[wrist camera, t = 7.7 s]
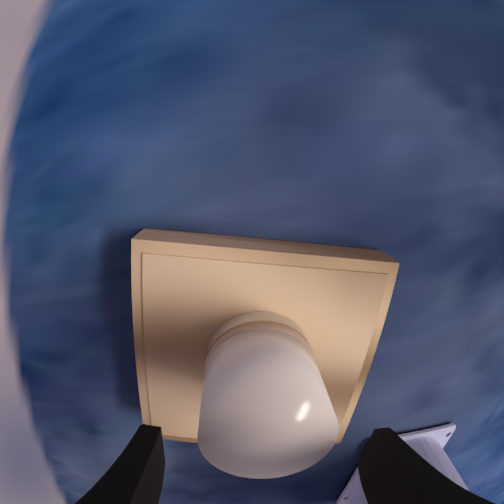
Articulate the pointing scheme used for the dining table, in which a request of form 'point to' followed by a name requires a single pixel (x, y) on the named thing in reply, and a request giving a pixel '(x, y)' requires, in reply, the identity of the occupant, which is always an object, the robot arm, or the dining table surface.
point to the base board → (249, 300)
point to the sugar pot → (263, 399)
